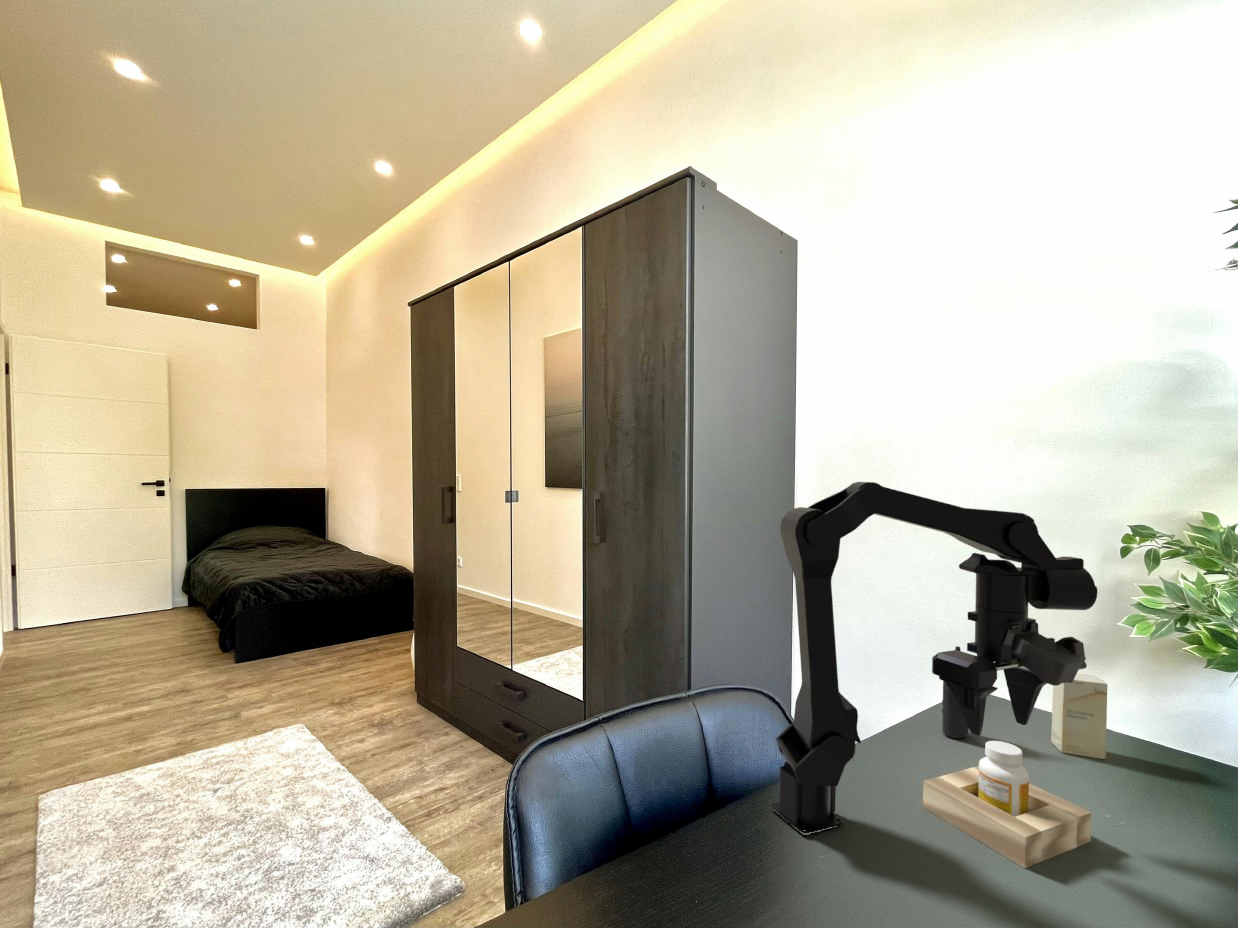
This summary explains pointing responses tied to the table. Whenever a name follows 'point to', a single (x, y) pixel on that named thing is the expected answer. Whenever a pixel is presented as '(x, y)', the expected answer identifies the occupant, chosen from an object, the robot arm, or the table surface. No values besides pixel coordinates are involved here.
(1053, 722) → the skincare box
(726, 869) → the table surface
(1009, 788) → the supplement bottle
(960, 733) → the two-way radio
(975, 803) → the socket block
